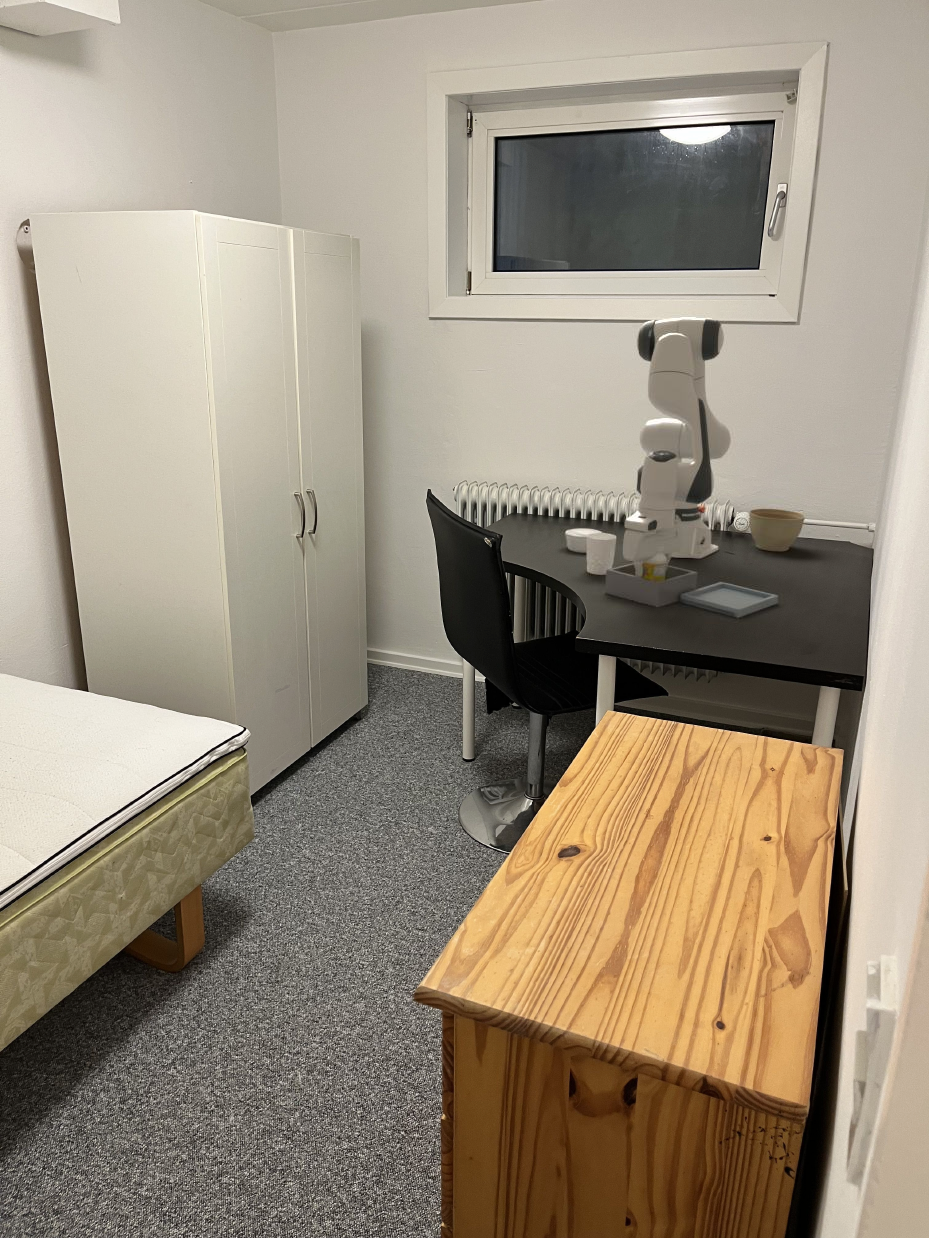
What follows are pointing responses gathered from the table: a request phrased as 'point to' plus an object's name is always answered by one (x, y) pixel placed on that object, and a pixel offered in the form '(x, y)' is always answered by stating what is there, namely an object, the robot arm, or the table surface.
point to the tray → (729, 599)
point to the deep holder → (649, 585)
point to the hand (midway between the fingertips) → (651, 573)
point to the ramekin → (578, 539)
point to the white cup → (600, 552)
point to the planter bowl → (775, 528)
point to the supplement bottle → (655, 566)
